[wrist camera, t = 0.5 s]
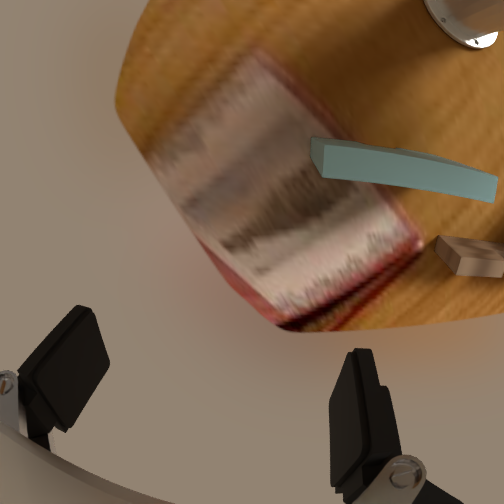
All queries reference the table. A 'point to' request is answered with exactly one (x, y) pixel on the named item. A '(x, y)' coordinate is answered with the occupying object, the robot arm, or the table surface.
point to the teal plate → (400, 168)
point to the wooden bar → (471, 256)
